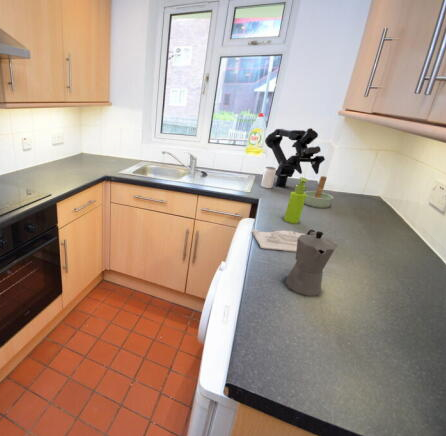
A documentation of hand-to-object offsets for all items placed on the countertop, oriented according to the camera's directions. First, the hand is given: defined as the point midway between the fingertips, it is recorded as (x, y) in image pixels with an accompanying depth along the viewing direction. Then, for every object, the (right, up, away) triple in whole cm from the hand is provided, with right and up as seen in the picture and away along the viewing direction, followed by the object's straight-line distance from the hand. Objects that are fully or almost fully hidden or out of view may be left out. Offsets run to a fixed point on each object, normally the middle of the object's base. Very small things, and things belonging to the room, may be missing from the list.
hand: (309, 173), depth 161 cm
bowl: (0, -17, -4) cm, 17 cm away
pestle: (0, -16, -5) cm, 17 cm away
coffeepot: (-49, -44, -72) cm, 98 cm away
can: (-12, -5, +22) cm, 26 cm away
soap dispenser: (-26, -26, -27) cm, 46 cm away
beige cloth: (-40, -34, -47) cm, 70 cm away
